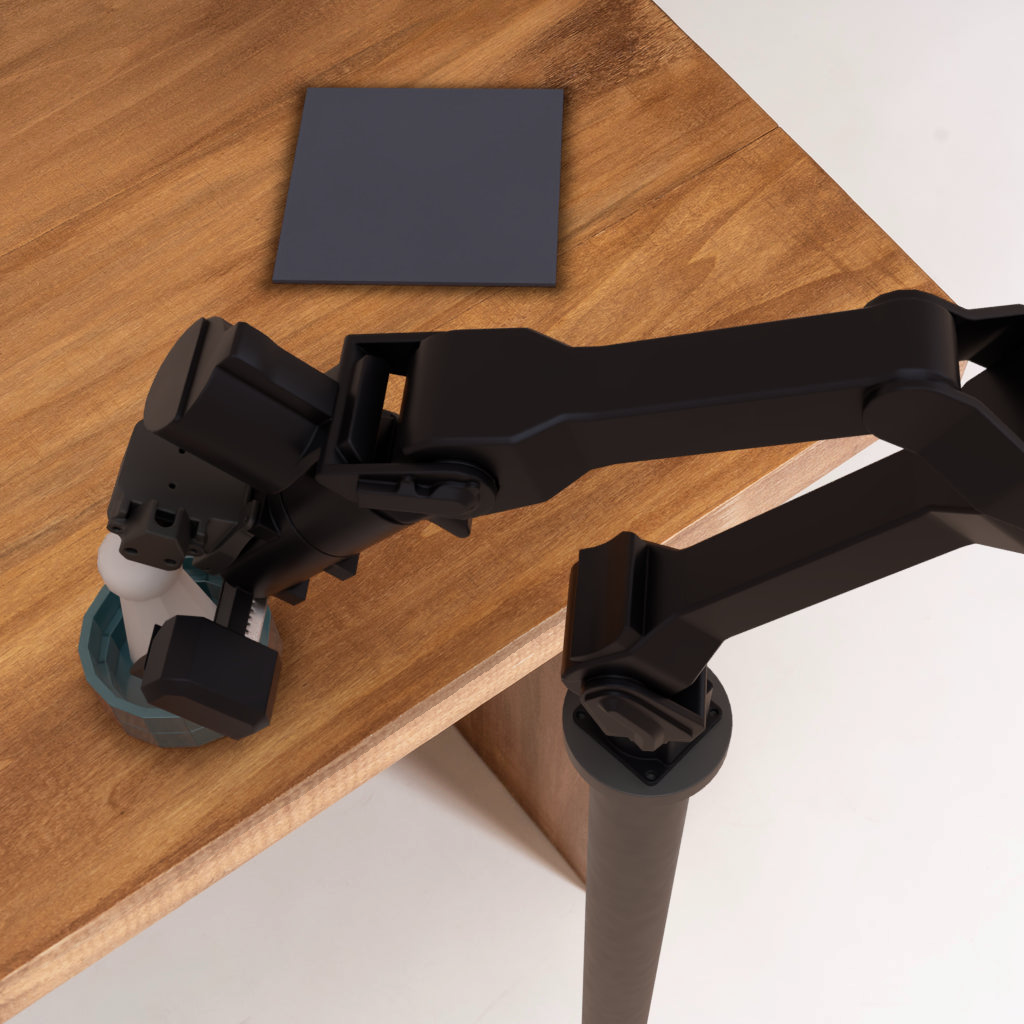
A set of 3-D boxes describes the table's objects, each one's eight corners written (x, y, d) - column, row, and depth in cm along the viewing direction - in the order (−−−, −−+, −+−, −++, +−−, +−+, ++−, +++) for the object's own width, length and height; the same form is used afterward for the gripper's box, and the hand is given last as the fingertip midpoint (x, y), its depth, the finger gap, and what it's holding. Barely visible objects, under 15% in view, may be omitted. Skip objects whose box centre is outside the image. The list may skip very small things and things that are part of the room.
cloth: (563, 92, 111) (563, 88, 111) (555, 287, 100) (555, 283, 100) (307, 91, 112) (307, 87, 112) (272, 283, 102) (271, 279, 101)
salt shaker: (259, 648, 85) (213, 531, 74) (197, 724, 83) (141, 614, 72) (183, 603, 87) (127, 483, 76) (120, 676, 84) (54, 562, 73)
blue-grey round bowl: (320, 663, 85) (308, 627, 81) (176, 787, 81) (157, 755, 77) (206, 556, 89) (190, 517, 86) (64, 668, 85) (41, 633, 82)
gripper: (229, 265, 69) (71, 392, 79) (136, 604, 59) (-32, 700, 69) (406, 377, 75) (238, 482, 85) (349, 702, 65) (166, 777, 75)
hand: (157, 598), depth 78 cm, fingers open, 9 cm apart
